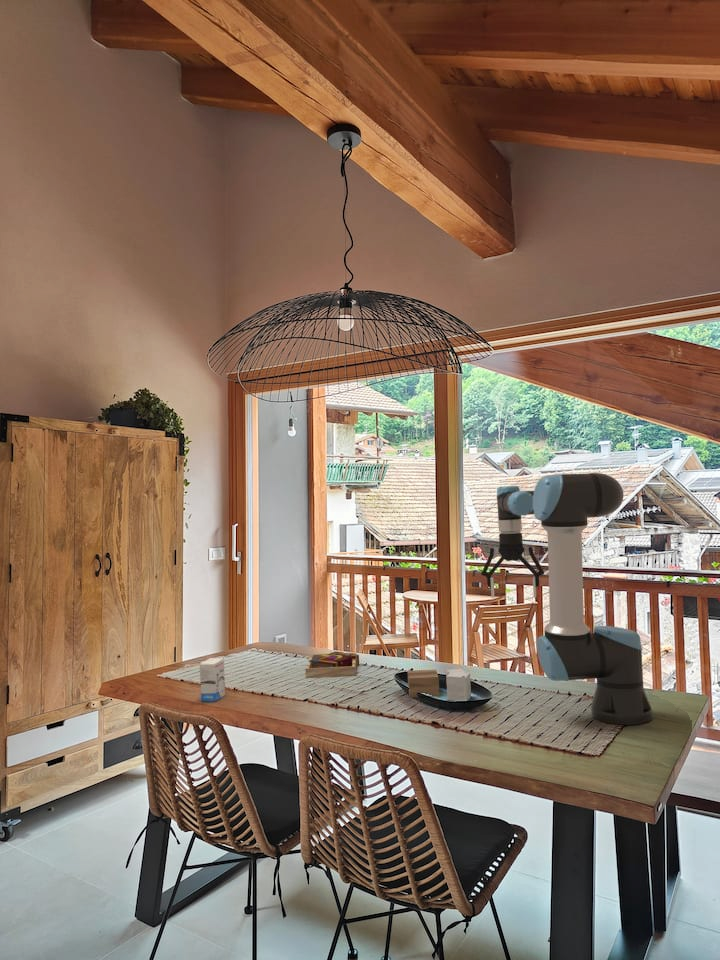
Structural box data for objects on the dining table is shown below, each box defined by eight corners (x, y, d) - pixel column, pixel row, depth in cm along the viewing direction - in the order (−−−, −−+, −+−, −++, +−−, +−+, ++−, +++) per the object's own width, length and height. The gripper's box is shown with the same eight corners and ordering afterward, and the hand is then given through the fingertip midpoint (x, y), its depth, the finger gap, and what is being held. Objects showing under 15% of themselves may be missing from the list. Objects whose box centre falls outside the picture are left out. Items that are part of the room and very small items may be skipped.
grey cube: (467, 688, 217) (466, 672, 217) (452, 689, 215) (451, 673, 216) (461, 684, 221) (460, 668, 222) (446, 685, 220) (446, 670, 220)
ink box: (215, 702, 213) (213, 663, 214) (200, 702, 214) (198, 663, 215) (226, 694, 222) (224, 657, 222) (211, 694, 223) (210, 657, 223)
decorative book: (360, 666, 252) (359, 652, 252) (332, 677, 239) (332, 662, 239) (335, 663, 259) (335, 649, 259) (307, 673, 246) (307, 659, 246)
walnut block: (439, 696, 209) (438, 676, 209) (409, 698, 209) (408, 678, 209) (436, 688, 218) (436, 669, 218) (408, 689, 218) (407, 670, 218)
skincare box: (451, 695, 209) (450, 671, 210) (471, 696, 207) (470, 671, 208) (447, 701, 204) (446, 676, 204) (467, 702, 202) (466, 677, 202)
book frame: (355, 675, 238) (354, 666, 238) (306, 677, 238) (305, 669, 238) (356, 660, 260) (355, 652, 260) (311, 662, 260) (310, 654, 260)
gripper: (549, 530, 229) (553, 594, 229) (473, 533, 236) (477, 595, 236) (549, 531, 222) (552, 598, 222) (471, 534, 229) (474, 598, 228)
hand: (513, 596), depth 229 cm, fingers open, 13 cm apart
